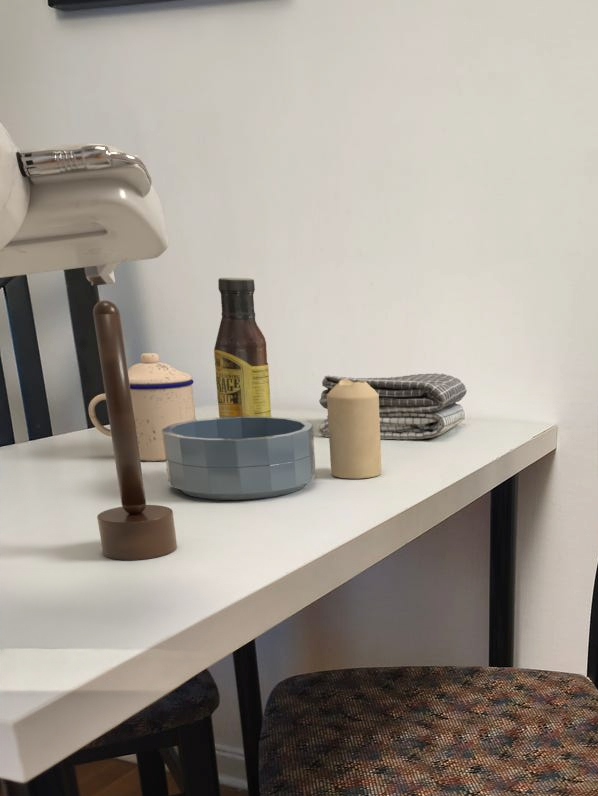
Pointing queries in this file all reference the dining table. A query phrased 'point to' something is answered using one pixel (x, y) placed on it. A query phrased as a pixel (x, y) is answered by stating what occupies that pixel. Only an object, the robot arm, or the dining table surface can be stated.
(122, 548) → the brown wooden pestle
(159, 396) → the teacup with lid
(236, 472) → the bowl
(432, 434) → the towel
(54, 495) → the dining table surface
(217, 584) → the dining table surface
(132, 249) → the robot arm
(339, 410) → the candle
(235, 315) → the sauce bottle
